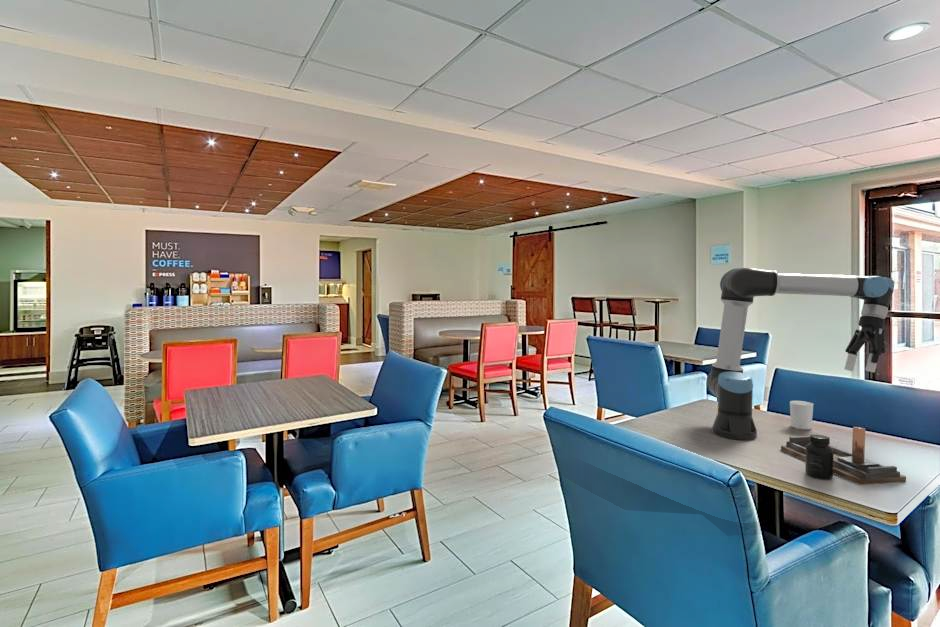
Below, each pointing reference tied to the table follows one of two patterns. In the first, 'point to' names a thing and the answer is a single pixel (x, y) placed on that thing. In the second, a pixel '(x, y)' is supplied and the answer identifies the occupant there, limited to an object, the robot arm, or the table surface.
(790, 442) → the slide board
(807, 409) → the white cup
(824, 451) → the supplement bottle
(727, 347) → the robot arm
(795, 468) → the table surface
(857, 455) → the carriage
